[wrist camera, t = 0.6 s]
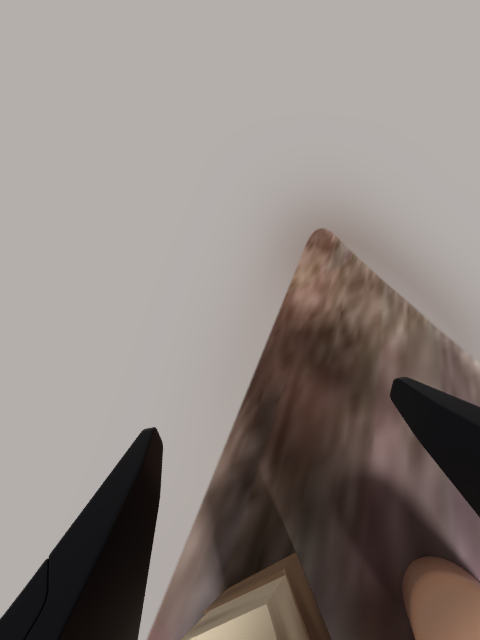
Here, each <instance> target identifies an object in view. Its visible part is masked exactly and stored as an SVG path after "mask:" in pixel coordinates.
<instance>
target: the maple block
mask: <svg viewBox="0 0 480 640" xmlns="http://www.w3.org/2000/svg"><path fill="white" fill-rule="evenodd" d="M181 640H307V638H306V635H305V632H304V629H303V626H302V623H301V620H300V617H299V614H298V611H297V609H296V606H295V603H294V600H293V597H292V594H291V591H290V588H289V585H288V582H287V579H286V576H285V575H284V576H282V577H280V578H278V579H276V580H274V581H272V582H269V583H267V584H265V585H263V586H261V587H259V588H257V589H255V590H252V591H250V592H248V593H246V594H244V595H242V596H240V597H238V598H235V599H233V600H231V601H229V602H227V603H225V604H223V605H221V606H218V607H216V608H214V609H212V610H210V611H209V612H208V613H207V614H206V615H205V616H204V617H203V618H202V619H201V620H200V621H199V622H198V623H197V624H196V625H195V626H194V627H193V628H192V629H191V630H190V631H189V632H188V633H187V634H186V635H185V636H184V637H183V638H182V639H181Z"/></svg>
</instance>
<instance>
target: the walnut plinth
mask: <svg viewBox="0 0 480 640" xmlns="http://www.w3.org/2000/svg"><path fill="white" fill-rule="evenodd" d="M284 575H285V576H286V579H287V582H288V585H289V588H290V591H291V594H292V597H293V600H294V603H295V606H296V609H297V611H298V614H299V617H300V620H301V623H302V626H303V629H304V632H305V635H306V638H307V640H331V638H330V635H329V633H328V631H327V628H326V626H325V623H324V621H323V618H322V616H321V613H320V611H319V608H318V606H317V603H316V601H315V598H314V596H313V593H312V591H311V588H310V586H309V583H308V581H307V578H306V576H305V573H304V571H303V568H302V566H301V563H300V561H299V558H298V556H297V553H296V552H295V553H293V554H292V555H290V556H288V557H286V558H284V559H282V560H280V561H278V562H276V563H275V564H273V565H271V566H269V567H267V568H265V569H263V570H261V571H259V572H258V573H256V574H254V575H252V576H250V577H248V578H246V579H244V580H242V581H241V582H239V583H237V584H235V585H233V586H231V587H229V588H227V589H226V590H225V591H224V592H223V593H222V594H221V595H220V596H219V597H218V598H217V599H216V600H215V601H214V602H213V603H212V604H211V605H210V606H209V607H208V608H207V609H206V610H205V611H204V616H205V615H206V614H207V613H208V612H209V611H210V610H212V609H214V608H216V607H218V606H221V605H223V604H225V603H227V602H229V601H231V600H233V599H235V598H238V597H240V596H242V595H244V594H246V593H248V592H250V591H252V590H255V589H257V588H259V587H261V586H263V585H265V584H267V583H269V582H272V581H274V580H276V579H278V578H280V577H282V576H284Z"/></svg>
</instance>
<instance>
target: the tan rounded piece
mask: <svg viewBox="0 0 480 640" xmlns="http://www.w3.org/2000/svg"><path fill="white" fill-rule="evenodd" d="M402 592H403V600H404V604H405V609H406V612H407V615H408V618H409V621H410V624H411V627H412V631H413V634H414V637H415V640H480V582H479V581H478V580H476V579H475V578H474V577H473V576H472V575H471V574H470V573H468V572H467V571H466V570H464V569H463V568H461V567H460V566H458V565H456V564H454V563H453V562H450V561H448V560H446V559H443V558H439V557H433V556H426V557H421V558H418V559H416V560H415V561H413V562H412V563H411V564H410V565H409V566H408V568H407V569H406V572H405V574H404V578H403V585H402Z"/></svg>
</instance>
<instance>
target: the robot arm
mask: <svg viewBox="0 0 480 640" xmlns="http://www.w3.org/2000/svg"><path fill="white" fill-rule="evenodd" d="M390 397H391V400H392V402H393V403H394V405H395V406H396V408H397V409H398V411H399V412H400V414H401V415H402V417H403V418H404V420H405V421H406V423H407V424H408V426H409V427H410V429H411V430H412V432H413V433H414V435H415V436H416V437H417V439H418V440H419V442H420V443H421V444H422V445H423V447H424V448H425V449H426V450H427V452H428V453H429V454H430V456H431V457H432V458H433V459H434V461H435V462H436V463H437V464H438V466H439V467H440V468H441V469H442V471H443V472H444V473H445V474H446V476H447V477H448V478H449V479H450V481H451V482H452V483H453V484H454V486H455V487H456V488H457V489H458V491H459V492H460V493H461V494H462V496H463V497H464V498H465V499H466V501H467V502H468V503H469V504H470V506H471V507H472V508H473V509H474V511H475V512H476V513H477V514H478V516H479V517H480V407H478V406H476V405H473V404H471V403H469V402H466V401H464V400H461V399H459V398H456V397H454V396H452V395H449V394H447V393H444V392H442V391H439V390H437V389H435V388H432V387H430V386H427V385H425V384H423V383H420V382H418V381H415V380H413V379H410V378H408V377H401V378H396V379H395V380H394V381H393V384H392V388H391V392H390ZM162 454H163V444H162V440H161V438H160V436H159V433H158V431H157V429H156V428H155V427H153V428H148V429H144V430H143V431H142V432H141V433H140V434H139V436H138V437H137V438H136V440H135V441H134V442H133V444H132V445H131V446H130V448H129V449H128V451H127V452H126V453H125V454H124V456H123V457H122V458H121V460H120V461H119V462H118V464H117V465H116V467H115V468H114V469H113V471H112V472H111V473H110V475H109V476H108V477H107V479H106V480H105V481H104V482H103V484H102V485H101V487H100V488H99V489H98V491H97V492H96V493H95V495H94V496H93V497H92V499H91V500H90V501H89V503H88V504H87V505H86V507H85V508H84V509H83V511H82V512H81V513H80V515H79V516H78V517H77V519H76V520H75V522H74V523H73V524H72V525H71V527H70V528H69V529H68V531H67V532H66V533H65V535H64V536H63V537H62V539H61V540H60V541H59V543H58V544H57V545H56V547H55V548H54V549H53V551H52V552H51V553H50V555H49V559H46V560H45V561H44V563H43V564H42V565H41V567H40V568H39V569H38V571H37V572H36V573H35V575H34V576H33V577H32V579H31V580H30V581H29V583H28V584H27V585H26V587H25V588H24V589H23V590H22V592H21V593H20V594H19V596H18V597H17V598H16V600H15V601H14V602H13V603H12V605H11V606H10V607H9V609H8V610H7V611H6V613H5V614H4V615H3V616H2V617H1V619H0V640H138V634H139V627H140V621H141V614H142V609H143V603H144V596H145V589H146V584H147V577H148V570H149V564H150V558H151V551H152V544H153V539H154V532H155V526H156V520H157V514H158V507H159V500H160V489H161V472H162Z"/></svg>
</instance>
